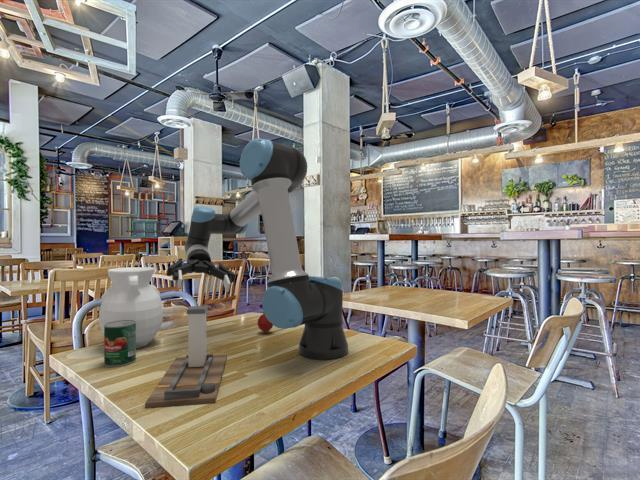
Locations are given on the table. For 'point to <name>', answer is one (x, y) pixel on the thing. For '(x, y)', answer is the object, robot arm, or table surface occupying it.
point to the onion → (264, 323)
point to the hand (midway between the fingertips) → (204, 285)
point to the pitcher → (133, 302)
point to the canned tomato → (119, 343)
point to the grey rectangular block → (197, 336)
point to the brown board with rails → (189, 383)
